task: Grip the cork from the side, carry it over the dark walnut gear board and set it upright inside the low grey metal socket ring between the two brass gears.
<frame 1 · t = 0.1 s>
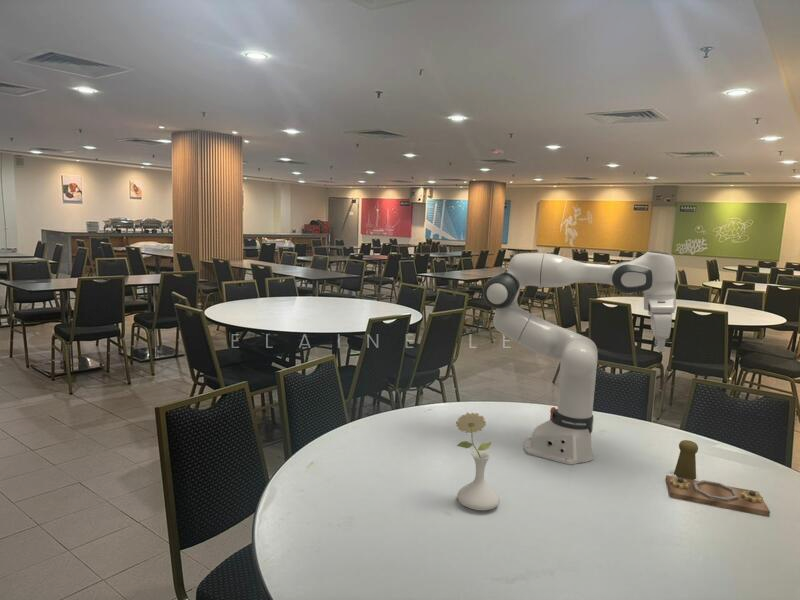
hand: (659, 348, 166), 39 cm above the table, tool pointing down, fingers open, 8 cm apart
gear board: (714, 497, 154), on the table
cork: (685, 476, 167), on the table
flower in vase: (474, 503, 145), on the table
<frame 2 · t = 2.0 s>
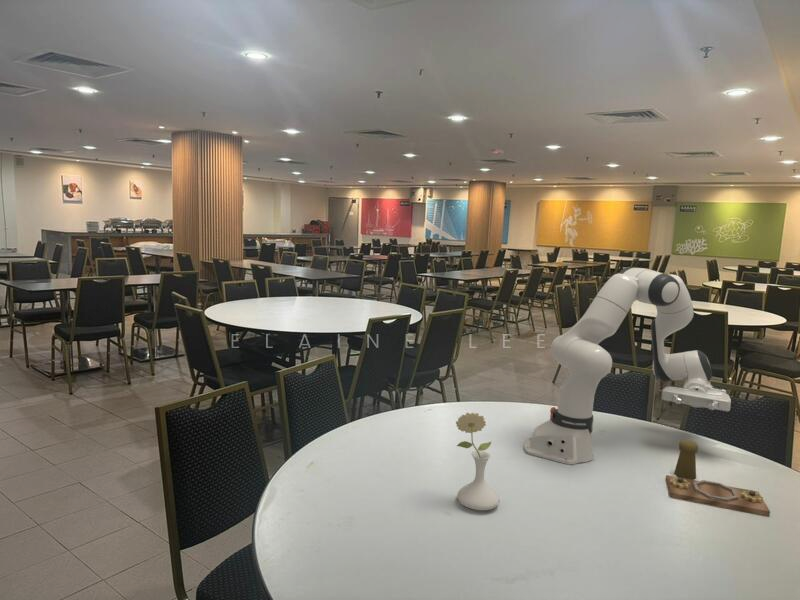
hand: (694, 404, 175), 20 cm above the table, tool horizontal, fingers open, 8 cm apart
nothing on the table moved.
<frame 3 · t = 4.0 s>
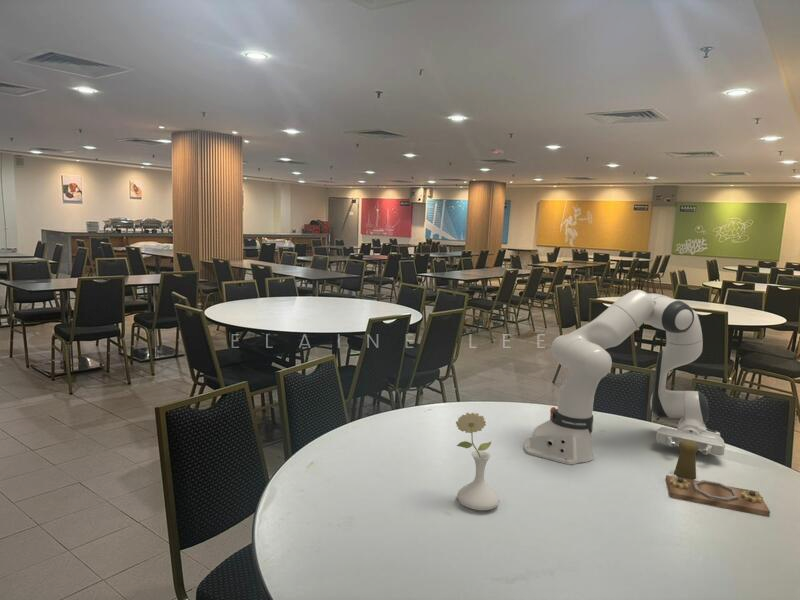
hand: (688, 448, 175), 5 cm above the table, tool horizontal, fingers open, 8 cm apart
nothing on the table moved.
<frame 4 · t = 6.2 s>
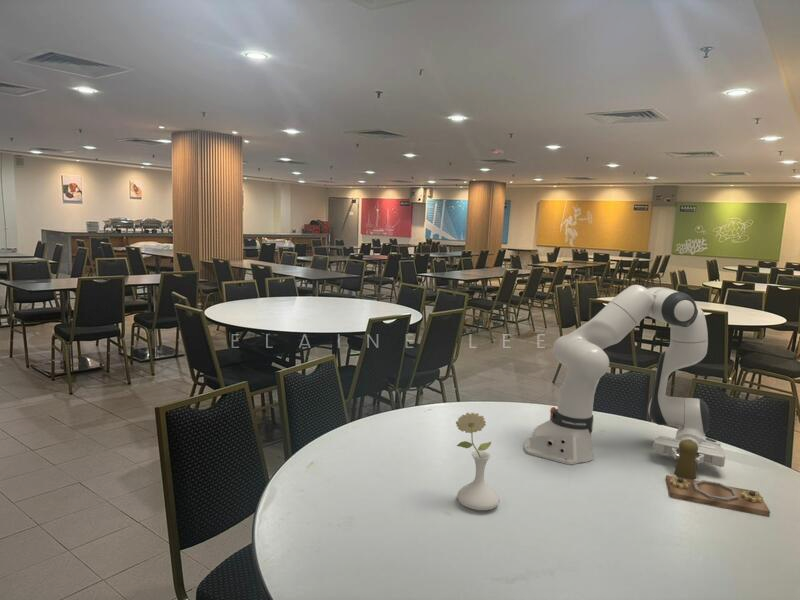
hand: (686, 459, 165), 6 cm above the table, tool horizontal, fingers open, 4 cm apart
cork: (685, 476, 167), on the table, touching gripper
everything else where it was.
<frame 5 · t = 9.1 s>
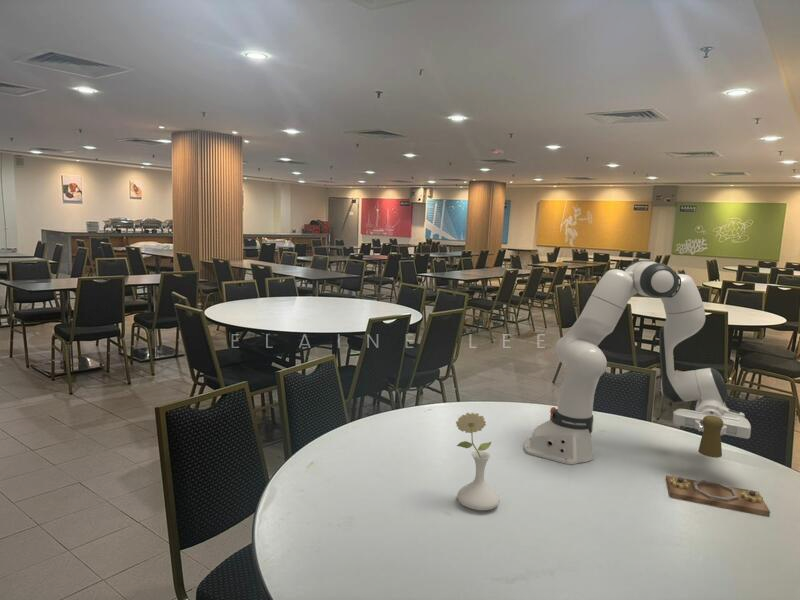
hand: (710, 431, 156), 18 cm above the table, tool horizontal, fingers closed on cork, 3 cm apart
cork: (709, 453, 157), point 11 cm above the table, touching gripper
everything else where it was.
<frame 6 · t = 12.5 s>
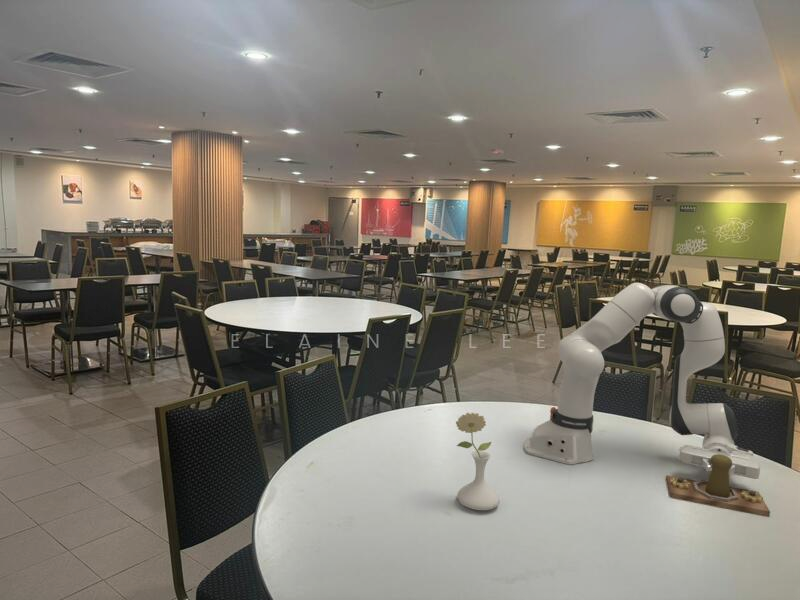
hand: (718, 471, 152), 8 cm above the table, tool horizontal, fingers closed on cork, 3 cm apart
cork: (717, 493, 153), point 1 cm above the table, touching gear board, gripper
everything else where it was.
when the fingers open (8 cm above the table, at t = 12.5 s): cork stays where it is, resting on gear board.
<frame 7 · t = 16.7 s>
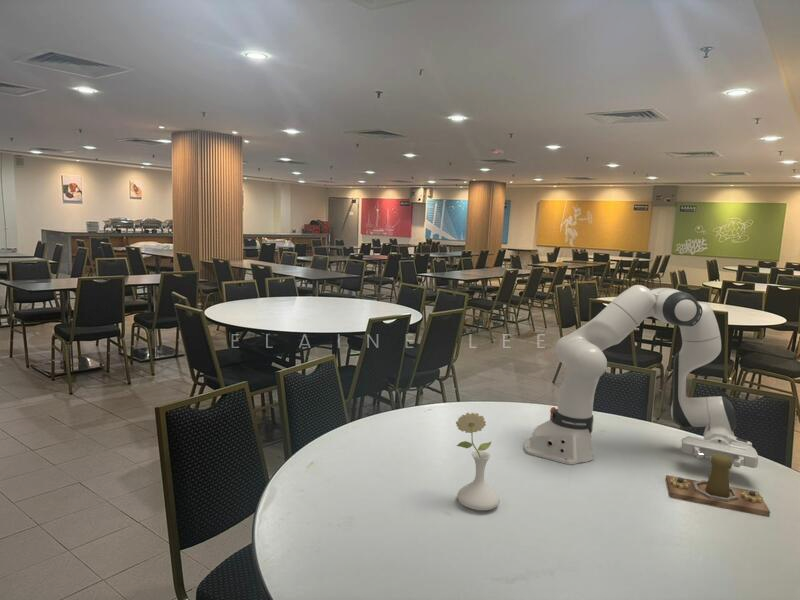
hand: (718, 460, 159), 8 cm above the table, tool horizontal, fingers open, 8 cm apart
cork: (717, 493, 153), point 1 cm above the table, touching gear board
everything else where it was.
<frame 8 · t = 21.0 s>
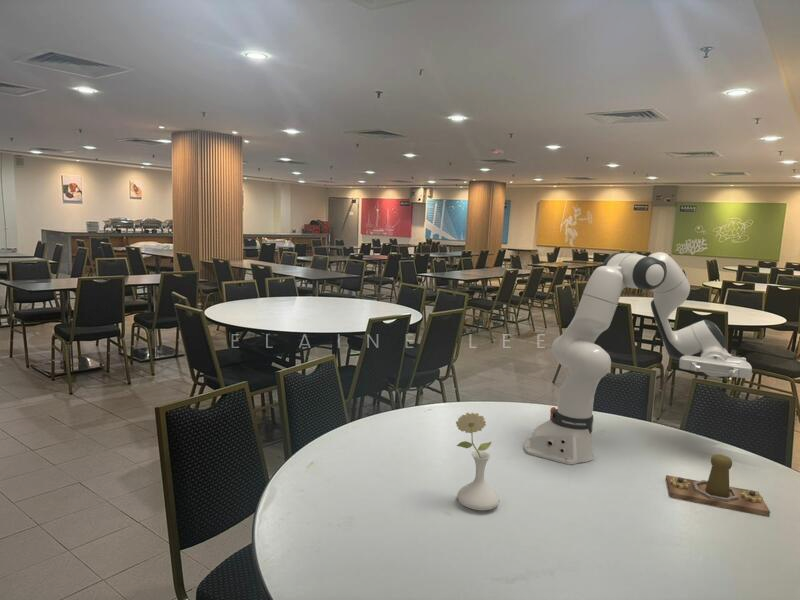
hand: (714, 371, 168), 32 cm above the table, tool horizontal, fingers open, 8 cm apart
nothing on the table moved.
at the end: cork 0.7 cm off-centre on the gear board, point 1.3 cm above the gear board's base; cork tilted 0°; the gripper is holding nothing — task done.
